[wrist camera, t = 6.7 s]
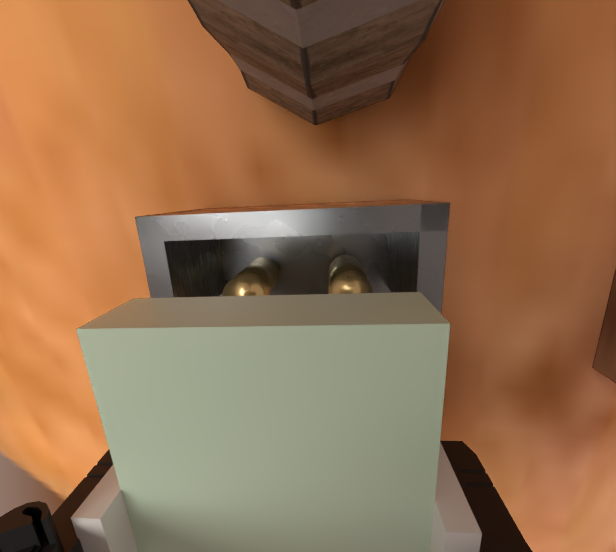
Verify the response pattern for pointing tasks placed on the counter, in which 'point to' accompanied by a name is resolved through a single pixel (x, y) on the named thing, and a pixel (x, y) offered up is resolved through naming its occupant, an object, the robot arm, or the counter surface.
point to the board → (273, 419)
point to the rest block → (608, 340)
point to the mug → (319, 48)
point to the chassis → (298, 249)
